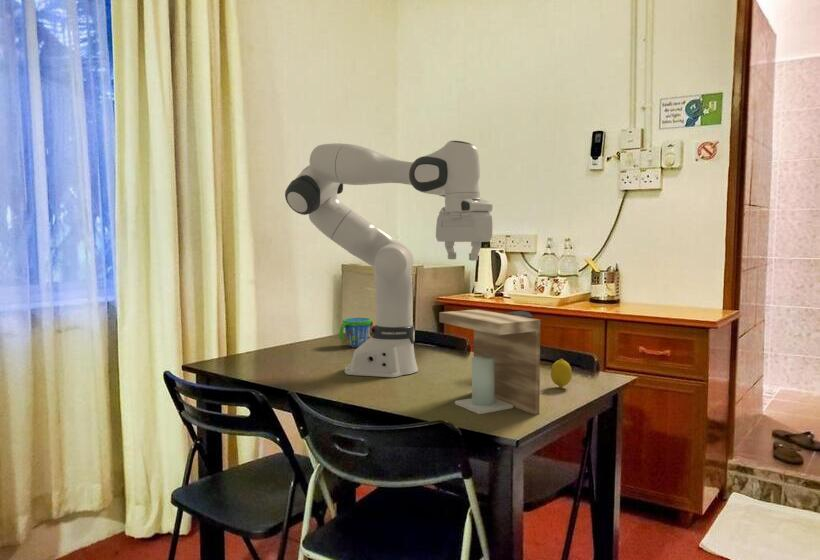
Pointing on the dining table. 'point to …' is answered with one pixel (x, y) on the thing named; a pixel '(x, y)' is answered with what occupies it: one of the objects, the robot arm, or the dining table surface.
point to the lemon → (561, 373)
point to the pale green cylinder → (483, 380)
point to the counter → (504, 356)
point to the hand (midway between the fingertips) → (462, 259)
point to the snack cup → (355, 330)
